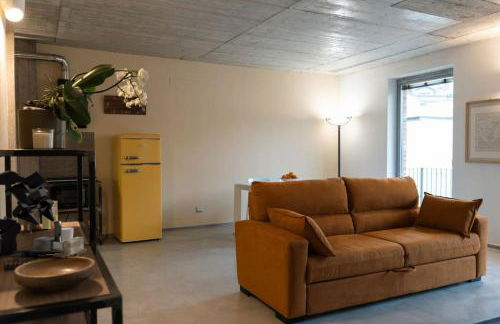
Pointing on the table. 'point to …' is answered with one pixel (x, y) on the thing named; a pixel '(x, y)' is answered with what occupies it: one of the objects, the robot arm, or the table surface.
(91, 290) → the table surface
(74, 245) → the base
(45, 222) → the candy box
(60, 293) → the table surface
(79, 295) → the table surface
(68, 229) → the shot glass
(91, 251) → the table surface
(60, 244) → the dark knobbed lever handle
